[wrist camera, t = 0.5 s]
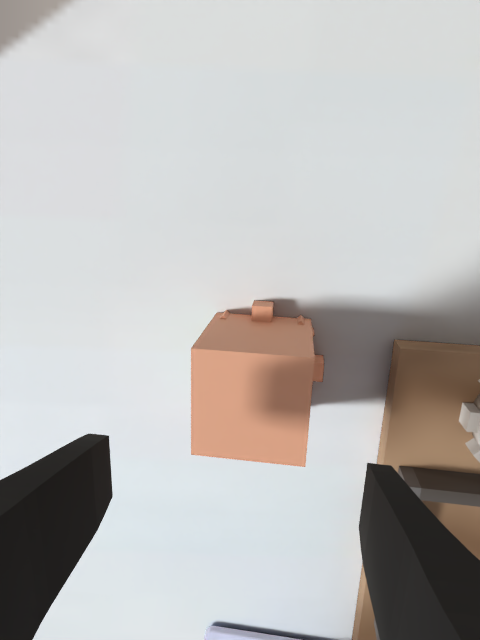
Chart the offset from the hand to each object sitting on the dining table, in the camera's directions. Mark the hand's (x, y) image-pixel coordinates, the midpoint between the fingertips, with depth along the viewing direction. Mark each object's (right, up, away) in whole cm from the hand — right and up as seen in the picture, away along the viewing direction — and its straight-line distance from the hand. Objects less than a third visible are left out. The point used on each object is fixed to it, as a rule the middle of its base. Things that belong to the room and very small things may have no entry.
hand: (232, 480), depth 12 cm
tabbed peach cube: (+1, +2, +9) cm, 9 cm away
